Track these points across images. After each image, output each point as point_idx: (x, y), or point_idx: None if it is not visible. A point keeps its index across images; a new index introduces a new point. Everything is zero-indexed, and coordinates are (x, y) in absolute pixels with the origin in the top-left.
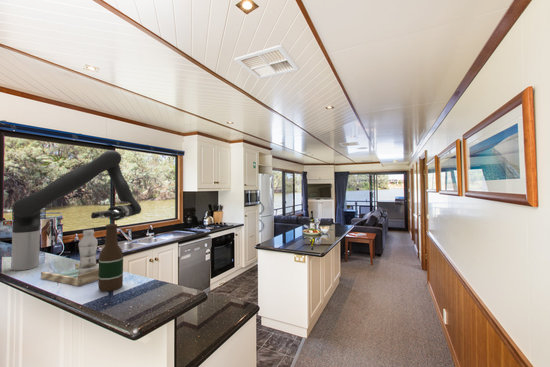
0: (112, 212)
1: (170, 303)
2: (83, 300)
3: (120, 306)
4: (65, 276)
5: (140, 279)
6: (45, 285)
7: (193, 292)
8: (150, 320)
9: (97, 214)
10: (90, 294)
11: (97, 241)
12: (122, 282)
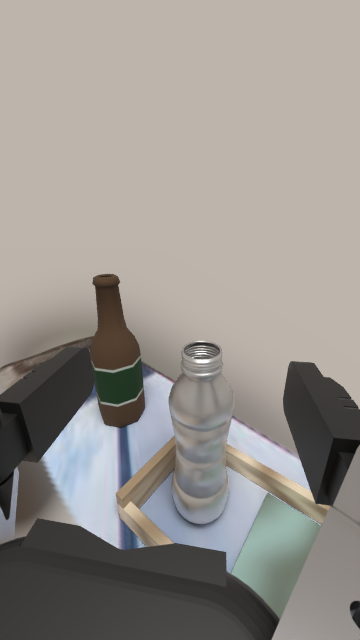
0: (35, 537)
1: (52, 356)
2: (158, 381)
3: None
4: (248, 459)
5: (55, 444)
6: (291, 467)
7: (7, 371)
8: (84, 339)
9: (325, 456)
10: (154, 396)
11: (170, 404)
12: (99, 407)
